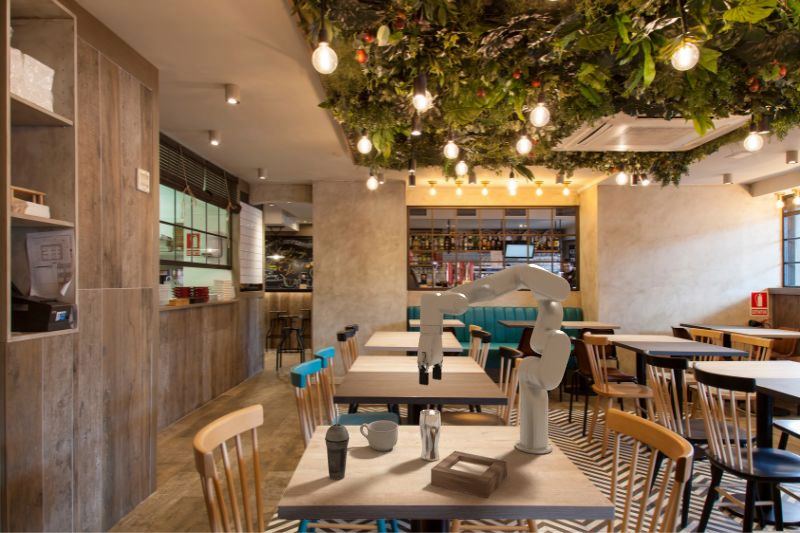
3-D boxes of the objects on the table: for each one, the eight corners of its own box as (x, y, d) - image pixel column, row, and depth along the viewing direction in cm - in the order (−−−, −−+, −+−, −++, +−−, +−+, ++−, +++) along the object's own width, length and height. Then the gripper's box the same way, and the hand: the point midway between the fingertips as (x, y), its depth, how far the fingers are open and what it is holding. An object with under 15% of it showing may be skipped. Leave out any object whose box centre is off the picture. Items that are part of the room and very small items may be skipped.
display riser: (454, 465, 158) (454, 450, 158) (507, 476, 149) (507, 461, 149) (431, 484, 143) (431, 468, 143) (487, 498, 135) (487, 481, 135)
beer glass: (439, 462, 160) (439, 415, 160) (417, 461, 161) (418, 414, 161) (441, 454, 167) (441, 410, 167) (421, 453, 168) (421, 408, 168)
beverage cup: (329, 484, 143) (329, 414, 143) (321, 474, 150) (321, 408, 150) (352, 479, 146) (353, 411, 147) (344, 470, 153) (344, 405, 153)
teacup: (403, 446, 175) (404, 423, 175) (386, 456, 165) (386, 431, 166) (371, 439, 182) (371, 417, 182) (353, 448, 173) (353, 424, 173)
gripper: (432, 327, 174) (431, 376, 173) (408, 331, 159) (407, 385, 158) (452, 328, 170) (451, 378, 170) (430, 333, 155) (429, 388, 154)
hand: (430, 382), depth 164 cm, fingers open, 9 cm apart
